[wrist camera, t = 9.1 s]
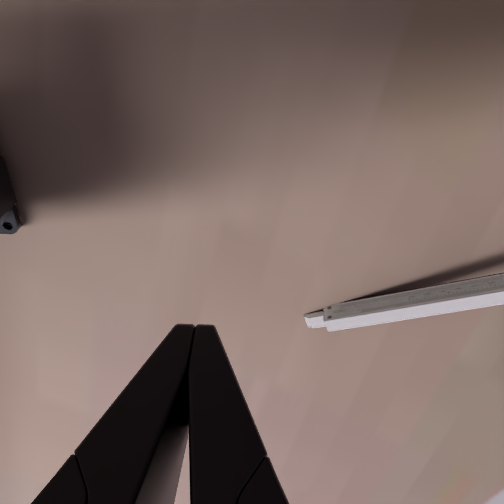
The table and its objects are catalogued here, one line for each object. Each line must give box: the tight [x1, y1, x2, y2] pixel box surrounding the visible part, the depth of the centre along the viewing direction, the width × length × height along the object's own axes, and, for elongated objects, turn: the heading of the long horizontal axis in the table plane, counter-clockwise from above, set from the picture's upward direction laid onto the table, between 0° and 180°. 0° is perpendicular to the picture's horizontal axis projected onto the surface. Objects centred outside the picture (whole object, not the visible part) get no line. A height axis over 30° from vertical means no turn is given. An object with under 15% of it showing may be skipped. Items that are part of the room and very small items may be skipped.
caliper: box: [304, 273, 504, 332], centre depth 22 cm, size 20×1×6 cm, turn 113°
